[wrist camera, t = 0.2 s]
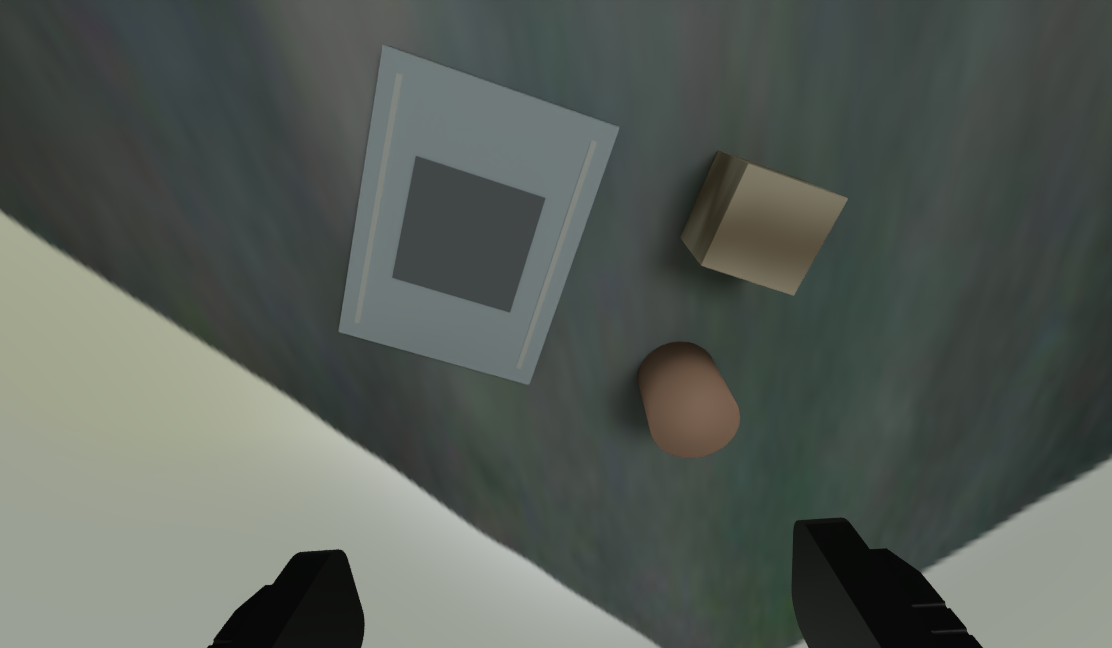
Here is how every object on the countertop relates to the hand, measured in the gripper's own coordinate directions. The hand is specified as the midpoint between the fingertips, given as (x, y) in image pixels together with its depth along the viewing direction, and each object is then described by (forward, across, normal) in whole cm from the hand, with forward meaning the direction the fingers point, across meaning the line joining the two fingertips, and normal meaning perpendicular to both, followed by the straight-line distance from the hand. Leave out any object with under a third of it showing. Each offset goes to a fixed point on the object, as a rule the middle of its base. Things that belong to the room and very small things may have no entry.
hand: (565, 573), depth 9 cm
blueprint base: (+22, +6, -4) cm, 23 cm away
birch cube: (+22, -10, -3) cm, 24 cm away
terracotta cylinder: (+24, -6, +7) cm, 25 cm away
